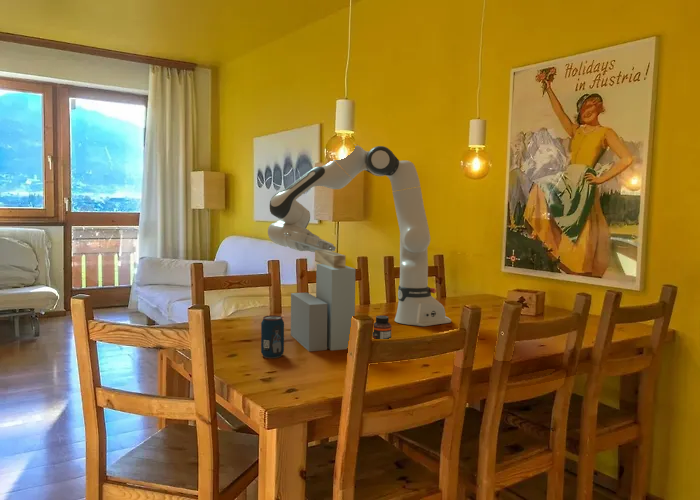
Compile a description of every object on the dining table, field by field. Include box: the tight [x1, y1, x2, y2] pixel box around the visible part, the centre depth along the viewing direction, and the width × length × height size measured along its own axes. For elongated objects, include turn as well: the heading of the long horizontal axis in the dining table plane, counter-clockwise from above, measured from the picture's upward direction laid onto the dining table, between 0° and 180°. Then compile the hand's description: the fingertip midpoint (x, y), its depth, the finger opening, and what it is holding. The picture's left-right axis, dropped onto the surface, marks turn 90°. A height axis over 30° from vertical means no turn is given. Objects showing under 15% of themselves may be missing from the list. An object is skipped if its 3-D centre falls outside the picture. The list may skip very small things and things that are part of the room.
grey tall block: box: [315, 263, 357, 351], centre depth 185 cm, size 8×16×26 cm, turn 21°
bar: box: [314, 250, 346, 268], centre depth 189 cm, size 4×20×4 cm, turn 21°
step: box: [290, 292, 328, 352], centre depth 187 cm, size 6×22×15 cm, turn 21°
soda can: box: [260, 314, 285, 359], centre depth 170 cm, size 7×7×12 cm
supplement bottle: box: [372, 315, 392, 339], centre depth 177 cm, size 6×6×11 cm
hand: (326, 246), depth 204 cm, fingers open, 8 cm apart
